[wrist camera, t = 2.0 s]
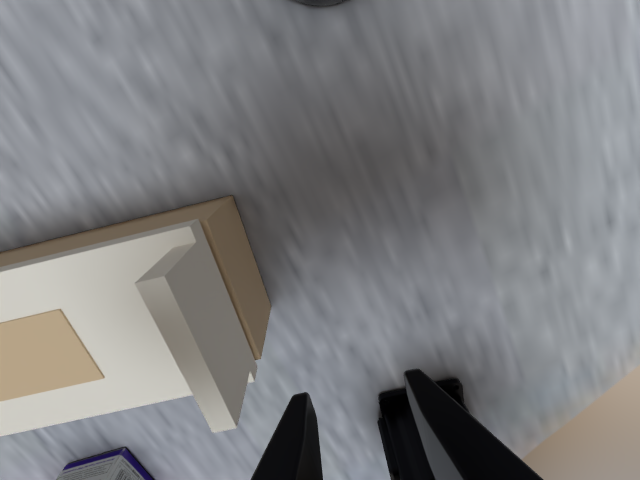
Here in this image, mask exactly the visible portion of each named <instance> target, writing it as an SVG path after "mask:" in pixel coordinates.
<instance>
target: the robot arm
mask: <svg viewBox="0 0 640 480" xmlns="http://www.w3.org/2000/svg"><path fill="white" fill-rule="evenodd" d="M404 379H405V385H406V389H402V390H397V391H393V392H388V393H383V394H381V395H380V396H379V397H378V400H379V404H380V409H381V413H382V418H379V420H378V426H379V430H380V435H381V439H382V443H383V447H384V452H385V456H386V460H387V464H388V469H389V473H390V477H391V480H543V479H542V478H541V477H540V476H539V475H538V474H537V473H535V472H534V471H533V470H532V469H531V468H530V467H529V466H528V465H526V464H525V463H524V462H523V461H522V460H521V459H520V458H519V457H518V456H516V455H515V454H514V453H513V452H512V451H511V450H510V449H509V448H507V447H506V446H505V445H504V444H503V443H502V442H501V441H500V440H499V439H497V438H496V437H495V436H494V435H493V434H492V433H491V432H490V431H488V430H487V429H486V428H485V427H484V426H483V425H482V424H481V423H479V422H478V421H477V420H476V419H475V418H474V417H473V416H472V415H471V414H470V413H469V411H468V409H467V407H466V406H465V404H464V399H463V387H462V384H461V383H460V381H459V380H458V379H450V380H445V381H440V382H436V383H435V382H434V381H433V380H431V379H430V378H429V377H428V376H427V375H426V374H425V373H424V372H422V371H421V370H420V369H412V370H407V371H405V372H404ZM251 480H323V475H322V465H321V455H320V445H319V435H318V425H317V417H316V413H315V410H314V407H313V404H312V401H311V398H310V395H309V394H308V393H307V392H304V393H300V394H295V395H293V396H292V398H291V400H290V402H289V404H288V406H287V408H286V410H285V412H284V414H283V416H282V418H281V420H280V422H279V424H278V426H277V428H276V430H275V432H274V434H273V436H272V438H271V440H270V442H269V444H268V446H267V448H266V450H265V452H264V454H263V456H262V458H261V460H260V462H259V464H258V466H257V468H256V470H255V472H254V474H253V476H252V478H251Z"/></svg>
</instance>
